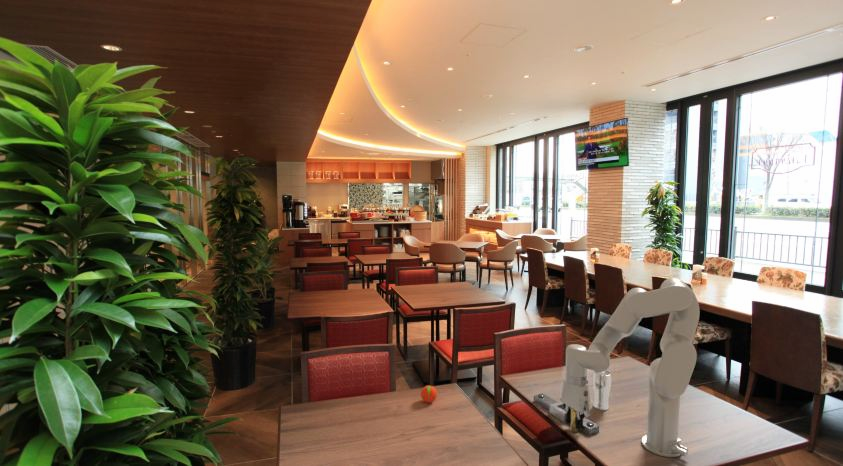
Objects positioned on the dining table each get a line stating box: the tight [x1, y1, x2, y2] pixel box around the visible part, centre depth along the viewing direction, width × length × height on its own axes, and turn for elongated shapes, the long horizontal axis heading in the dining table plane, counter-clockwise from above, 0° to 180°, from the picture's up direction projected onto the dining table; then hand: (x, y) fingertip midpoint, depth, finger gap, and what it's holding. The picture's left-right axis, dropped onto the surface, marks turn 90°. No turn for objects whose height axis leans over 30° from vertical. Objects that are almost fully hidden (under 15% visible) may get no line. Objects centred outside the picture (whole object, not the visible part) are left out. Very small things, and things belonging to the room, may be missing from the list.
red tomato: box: [420, 384, 438, 404], centre depth 186 cm, size 8×7×7 cm
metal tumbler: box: [592, 369, 612, 411], centre depth 181 cm, size 7×7×15 cm
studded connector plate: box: [533, 393, 600, 436], centre depth 174 cm, size 30×8×4 cm, turn 27°
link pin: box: [569, 407, 579, 434], centre depth 163 cm, size 3×3×9 cm
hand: (574, 424), depth 163 cm, fingers open, 3 cm apart
